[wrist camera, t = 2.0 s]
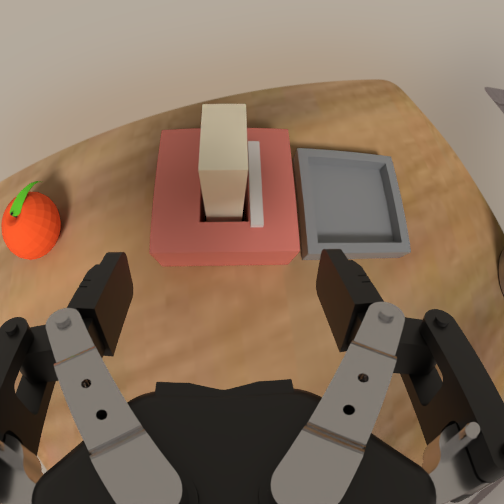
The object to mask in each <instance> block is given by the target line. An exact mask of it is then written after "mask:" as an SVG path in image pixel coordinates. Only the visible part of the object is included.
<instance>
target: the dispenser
mask: <svg viewBox="0 0 504 504" xmlns="http://www.w3.org/2000/svg"><path fill="white" fill-rule="evenodd" d="M200 133H201V128H195V129H174V130H162V132H161V139H160V146H159V154H158V161H157V169H156V178H155V187H154V197H153V208H152V221H151V235H150V254H151V255H152V256H153V257H154V258H155V259H156V260H157V261H158V262H159V263H160V264H161V265H162V266H225V265H281V264H289V263H290V262H291V261H292V260H293V258H294V257H295V256H296V255H297V254H298V253H299V252H300V243H299V231H298V219H297V208H296V198H295V188H294V178H293V168H292V159H291V151H290V142H289V134H288V129H271V128H247V150H248V175H247V183H246V191H245V198H244V202H245V222H204V201H203V196H202V190H201V184H200V178H199V172H198V166H199V149H200Z"/></svg>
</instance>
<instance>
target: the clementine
mask: <svg viewBox="0 0 504 504" xmlns="http://www.w3.org/2000/svg"><path fill="white" fill-rule="evenodd" d="M37 182H40V181H36V182H33V183H30V184H29V185H28V186H26V187H25V188H24V189H23V190H22V191H21V192H20V193H19V194H18V196H17V197H15V198H14V199H13V200H12V201H11V202H10V203H9V205H8V206H7V208H6V210H5V212H4V214H3V218H2V236H3V239H4V242H5V243H6V245H7V247H8V248H9V249H10V251H11V252H13V253H14V254H15V255H17V256H18V257H20V258H24V259H30V260H32V259H37V258H40V257H42V256H44V255H46V254H47V253H48V252H49V251H50V250H51V249H52V248H53V247H54V245H55V244H56V241H57V239H58V237H59V233H60V227H61V221H60V216H59V212H58V209H57V207H56V205H55V204H54V203H53V201H52V200H51V199H50V198H49V197H47V196H45V195H44V194H41V193H39V192H29V190H30V189H31V188H32V186H33V185H34V184H36V183H37Z"/></svg>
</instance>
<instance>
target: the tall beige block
mask: <svg viewBox="0 0 504 504" xmlns="http://www.w3.org/2000/svg"><path fill="white" fill-rule="evenodd" d="M198 172H199V178H200V184H201V190H202V196H203V201H204V207H205V213H206V218H207V222H242V214H243V206H244V198H245V191H246V183H247V175H248V150H247V120H246V104H203V106H202V119H201V133H200V149H199V166H198Z"/></svg>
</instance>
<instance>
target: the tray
mask: <svg viewBox="0 0 504 504" xmlns="http://www.w3.org/2000/svg"><path fill="white" fill-rule="evenodd" d="M293 167H294V176H295V185H296V195H297V205H298V216H299V227H300V239H301V252H302V260H320V256H321V252H322V250H323V249H341V250H342V251H343V253H344V254H345V256H346V257H347V259H367V258H400V257H402V256H404V255H406V254H408V253H410V252H411V248H410V242H409V236H408V230H407V225H406V219H405V214H404V209H403V204H402V200H401V195H400V191H399V186H398V182H397V178H396V174H395V170H394V166H393V162H392V159H391V157H389V156H382V155H374V154H365V153H356V152H346V151H335V150H322V149H307V148H297V150H296V153H295V155H294V158H293Z"/></svg>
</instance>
